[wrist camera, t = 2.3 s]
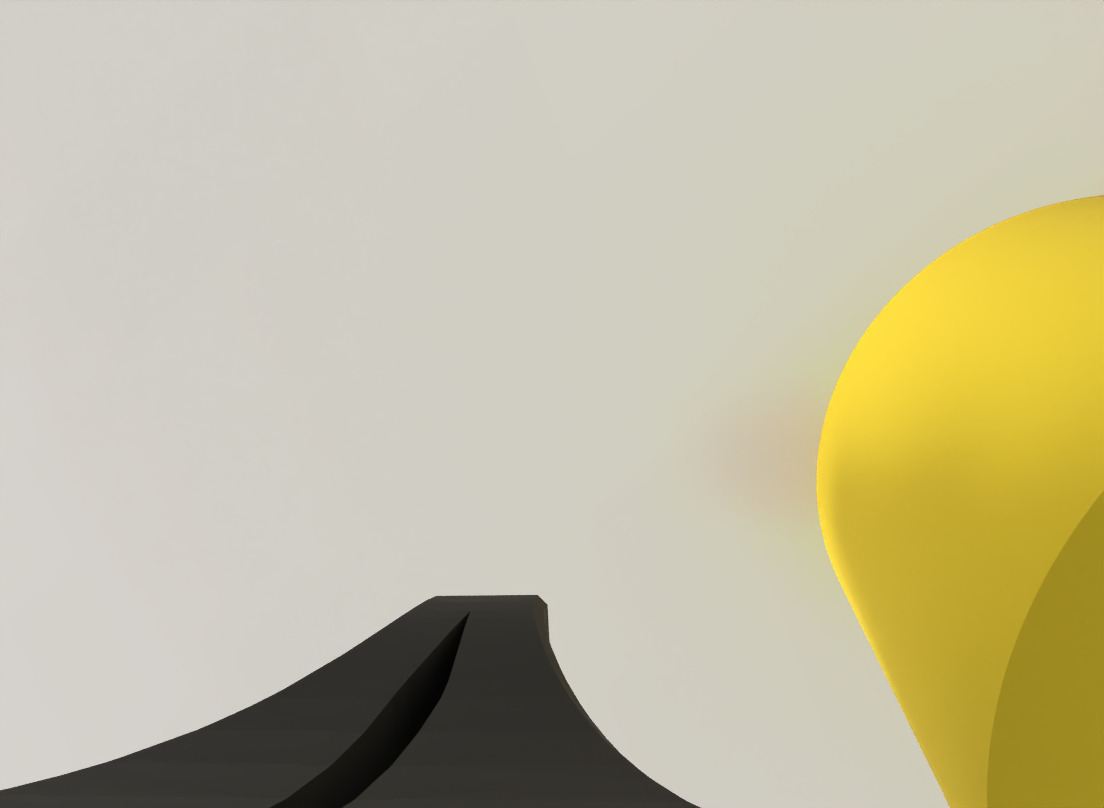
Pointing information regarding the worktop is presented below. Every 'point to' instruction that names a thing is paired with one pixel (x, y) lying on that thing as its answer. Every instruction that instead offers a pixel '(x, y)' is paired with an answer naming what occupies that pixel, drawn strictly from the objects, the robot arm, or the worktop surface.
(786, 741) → the worktop surface
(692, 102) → the worktop surface
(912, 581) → the tape roll
